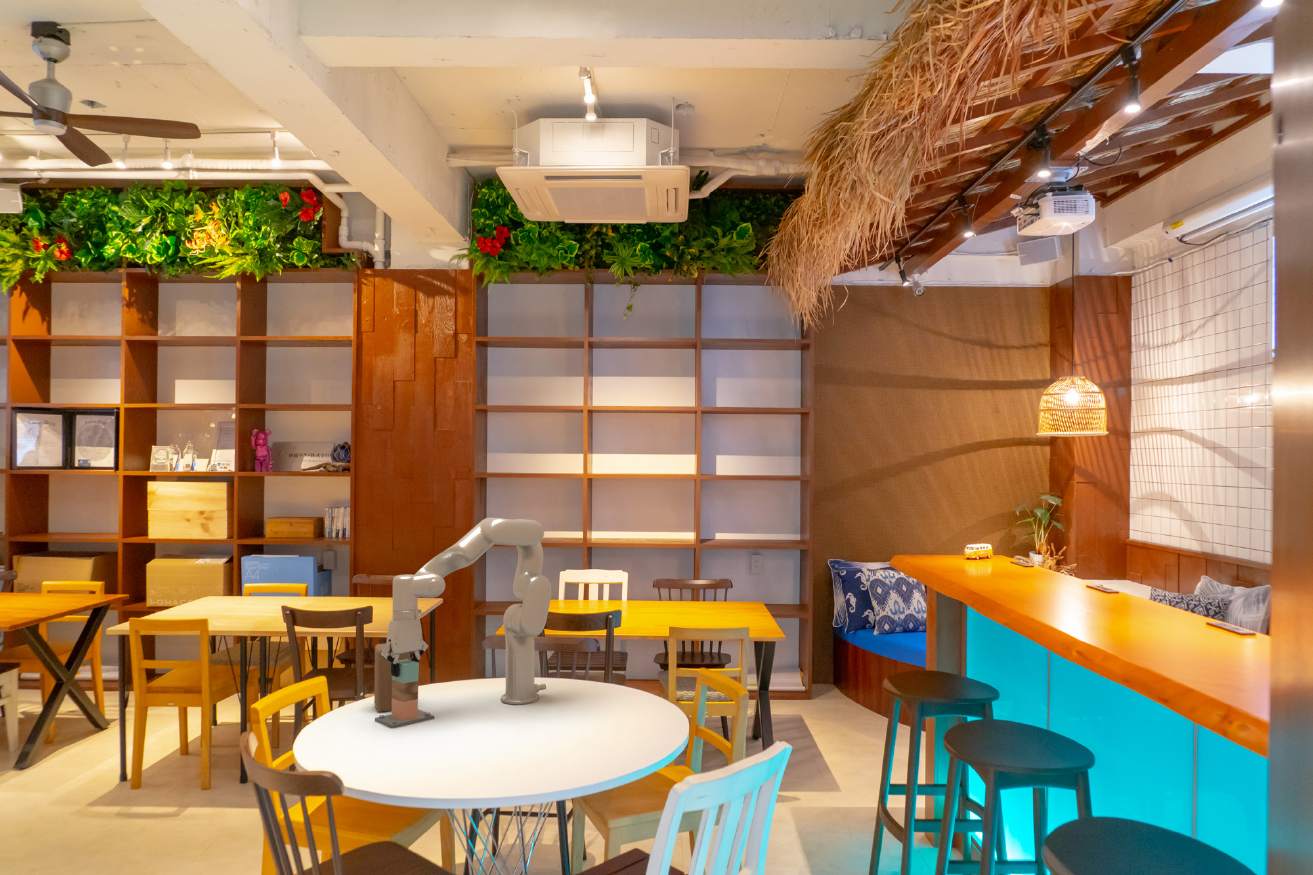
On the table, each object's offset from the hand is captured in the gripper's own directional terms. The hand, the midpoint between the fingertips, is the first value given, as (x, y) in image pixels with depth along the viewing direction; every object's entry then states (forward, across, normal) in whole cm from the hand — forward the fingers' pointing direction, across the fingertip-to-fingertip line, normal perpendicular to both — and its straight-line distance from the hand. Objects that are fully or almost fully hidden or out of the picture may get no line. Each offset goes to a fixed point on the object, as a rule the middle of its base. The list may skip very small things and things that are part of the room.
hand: (404, 673), depth 255 cm
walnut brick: (+7, 0, 0) cm, 7 cm away
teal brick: (+2, 0, 0) cm, 2 cm away
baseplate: (+14, 0, 0) cm, 14 cm away
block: (+14, -4, -16) cm, 22 cm away
